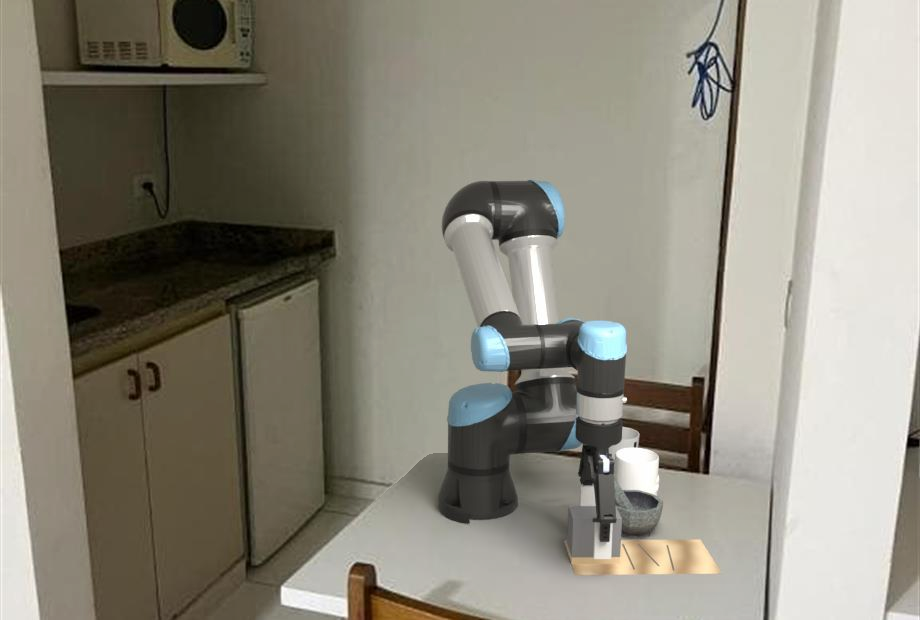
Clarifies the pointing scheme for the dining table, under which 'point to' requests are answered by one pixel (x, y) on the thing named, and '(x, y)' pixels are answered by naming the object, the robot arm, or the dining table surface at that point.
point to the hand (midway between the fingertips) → (594, 539)
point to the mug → (637, 469)
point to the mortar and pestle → (637, 511)
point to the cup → (625, 441)
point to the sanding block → (589, 536)
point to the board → (655, 559)
